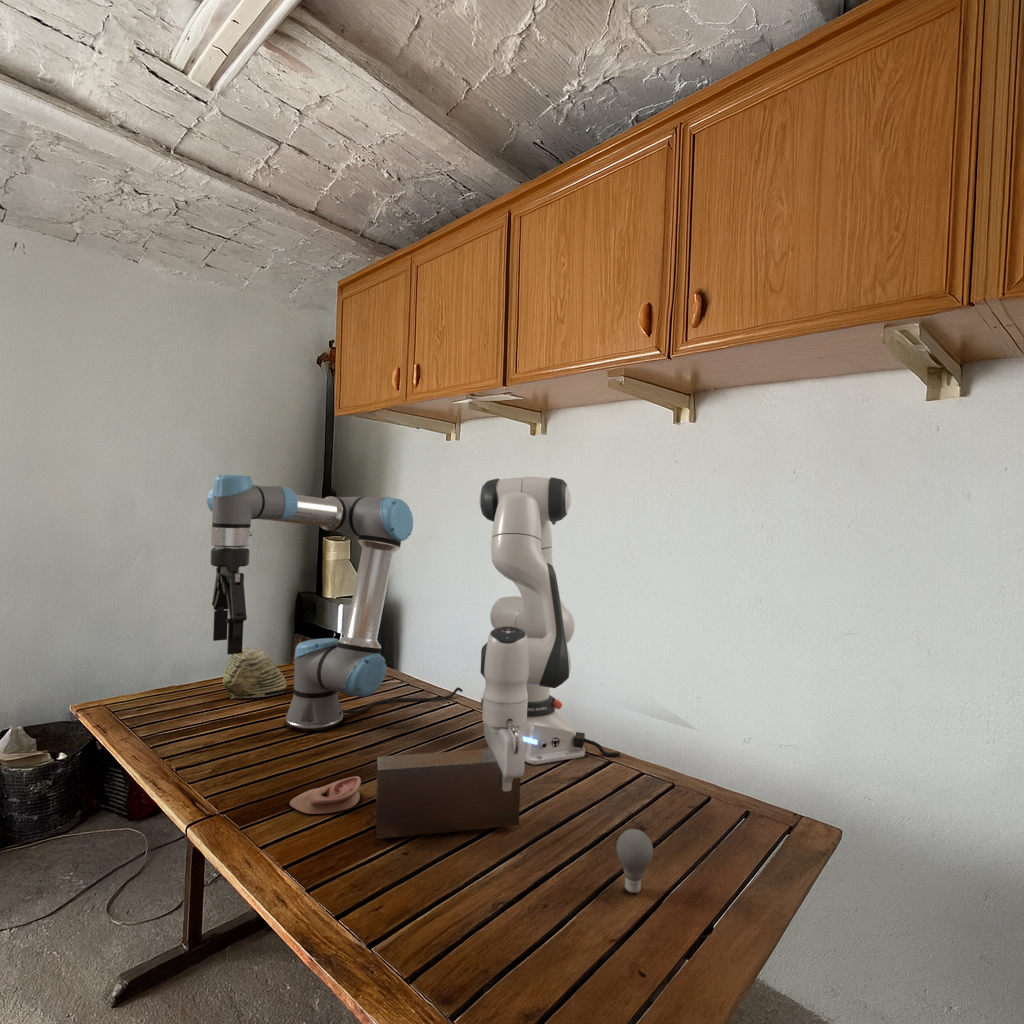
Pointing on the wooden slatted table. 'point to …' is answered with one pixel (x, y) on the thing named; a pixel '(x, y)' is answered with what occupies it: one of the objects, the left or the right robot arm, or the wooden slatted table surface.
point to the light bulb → (634, 857)
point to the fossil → (252, 675)
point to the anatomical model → (329, 797)
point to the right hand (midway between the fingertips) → (501, 781)
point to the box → (442, 794)
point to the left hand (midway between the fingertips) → (227, 646)
